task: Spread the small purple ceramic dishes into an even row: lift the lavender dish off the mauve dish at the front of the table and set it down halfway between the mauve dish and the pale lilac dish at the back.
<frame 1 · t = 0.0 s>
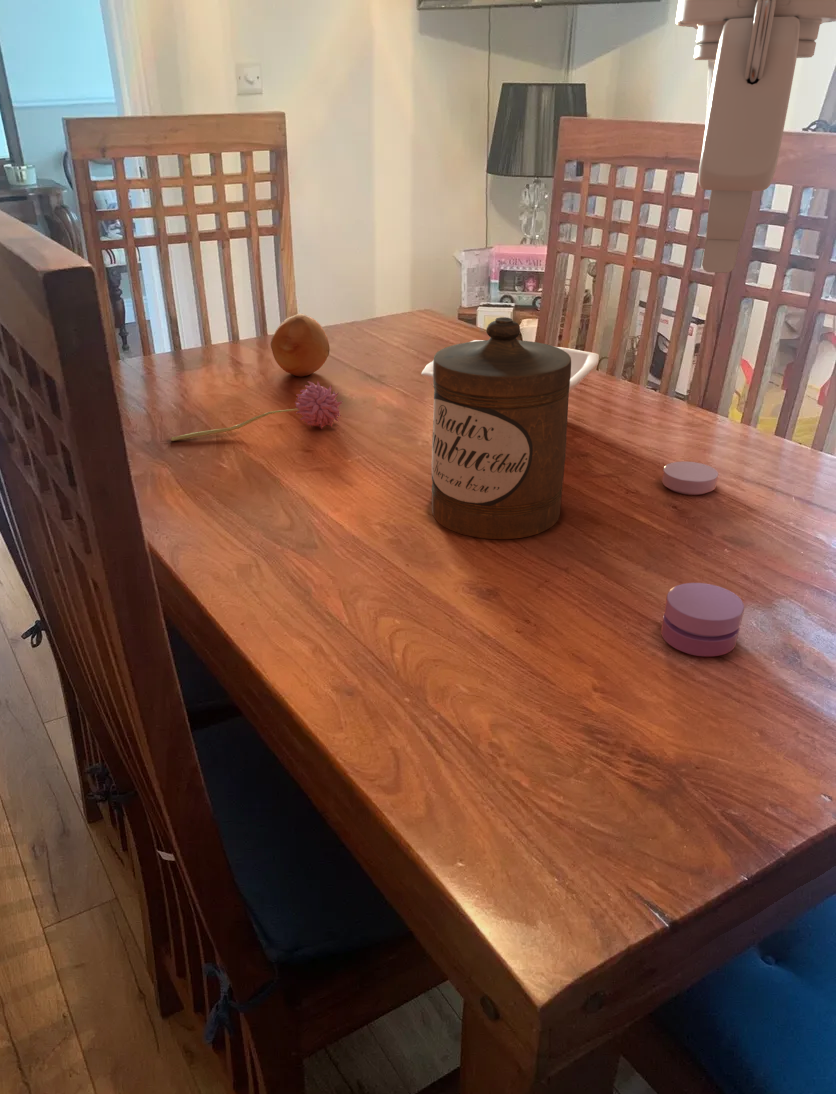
hand: (717, 256, 54), 33 cm above the table, tool pointing down, fingers open, 8 cm apart
lilac dish: (687, 486, 106), on the table
lavender dish: (701, 621, 76), point 2 cm above the table, touching mauve dish
artificial flower: (259, 435, 124), on the table
wooden container: (494, 514, 100), on the table
mauve dish: (697, 640, 77), on the table, touching lavender dish
bowl: (508, 420, 128), on the table
onion: (302, 375, 149), on the table
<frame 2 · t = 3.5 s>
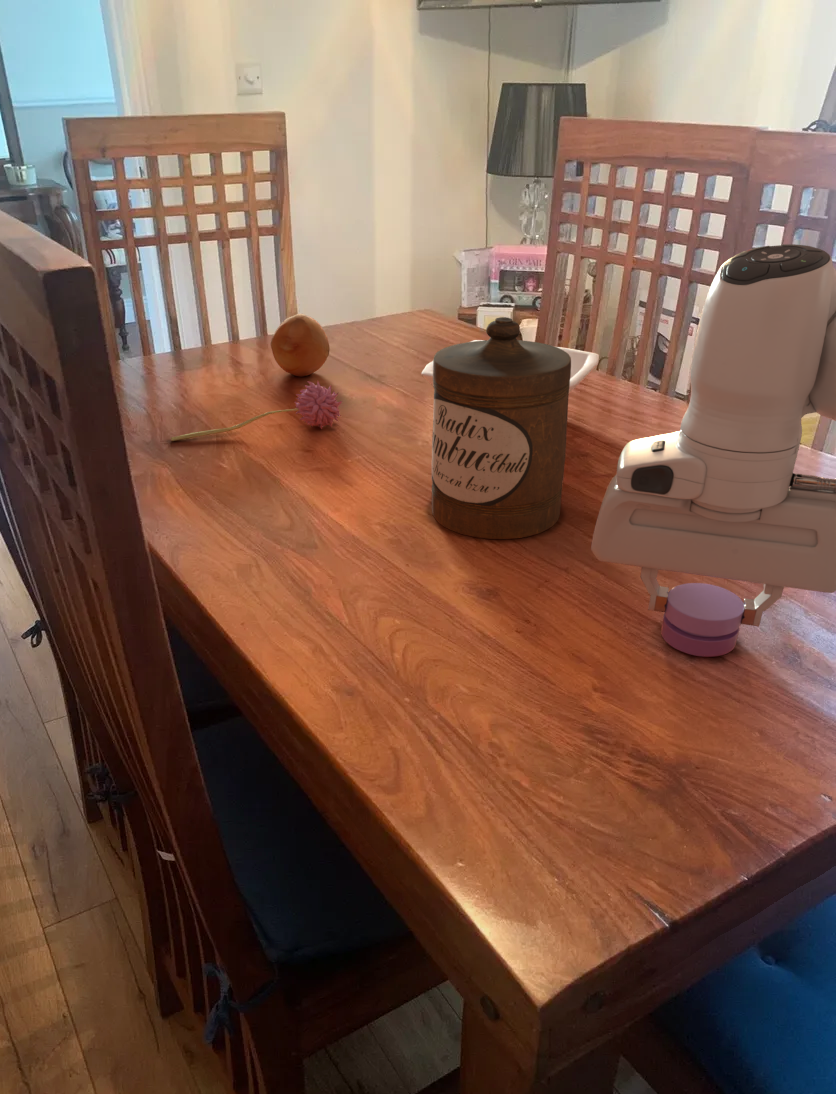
hand: (701, 615, 76), 3 cm above the table, tool pointing down, fingers closed on lavender dish, 6 cm apart
lavender dish: (701, 621, 76), point 2 cm above the table, touching gripper, mauve dish
everything else where it was.
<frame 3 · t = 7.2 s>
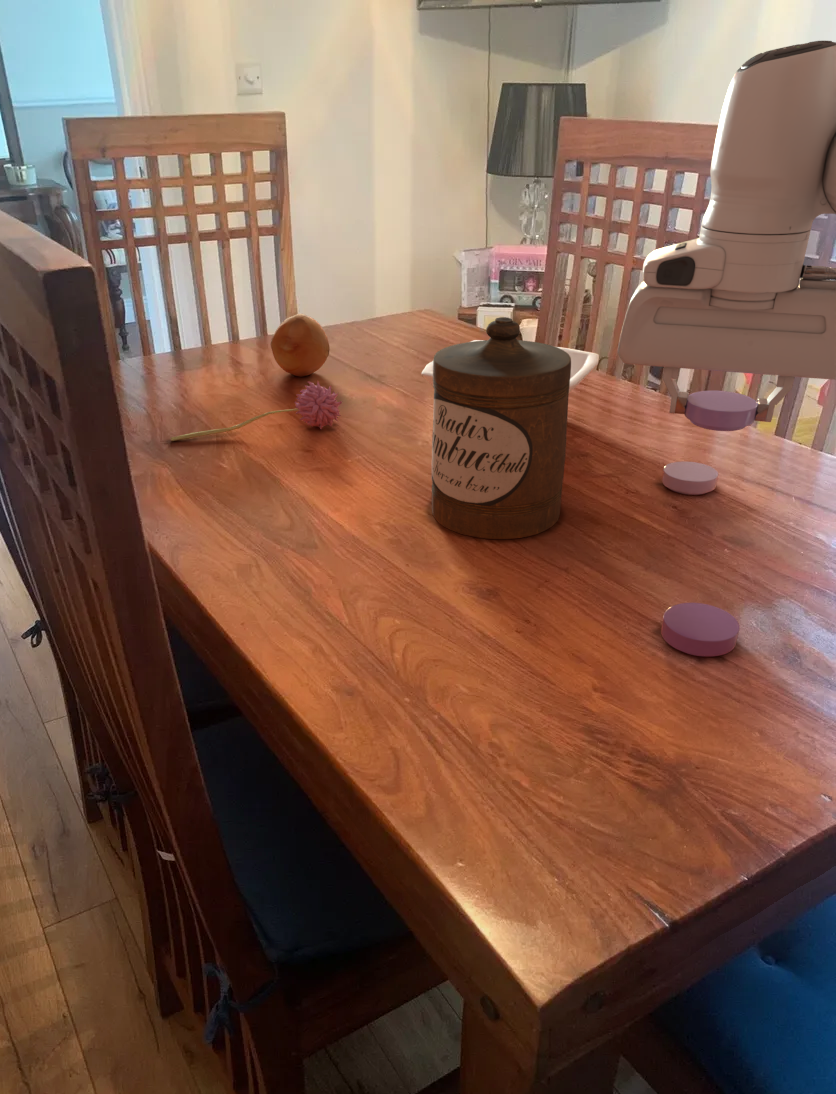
hand: (718, 416, 83), 15 cm above the table, tool pointing down, fingers closed on lavender dish, 6 cm apart
lavender dish: (718, 421, 83), point 15 cm above the table, touching gripper
mauve dish: (697, 640, 77), on the table
everything else where it was.
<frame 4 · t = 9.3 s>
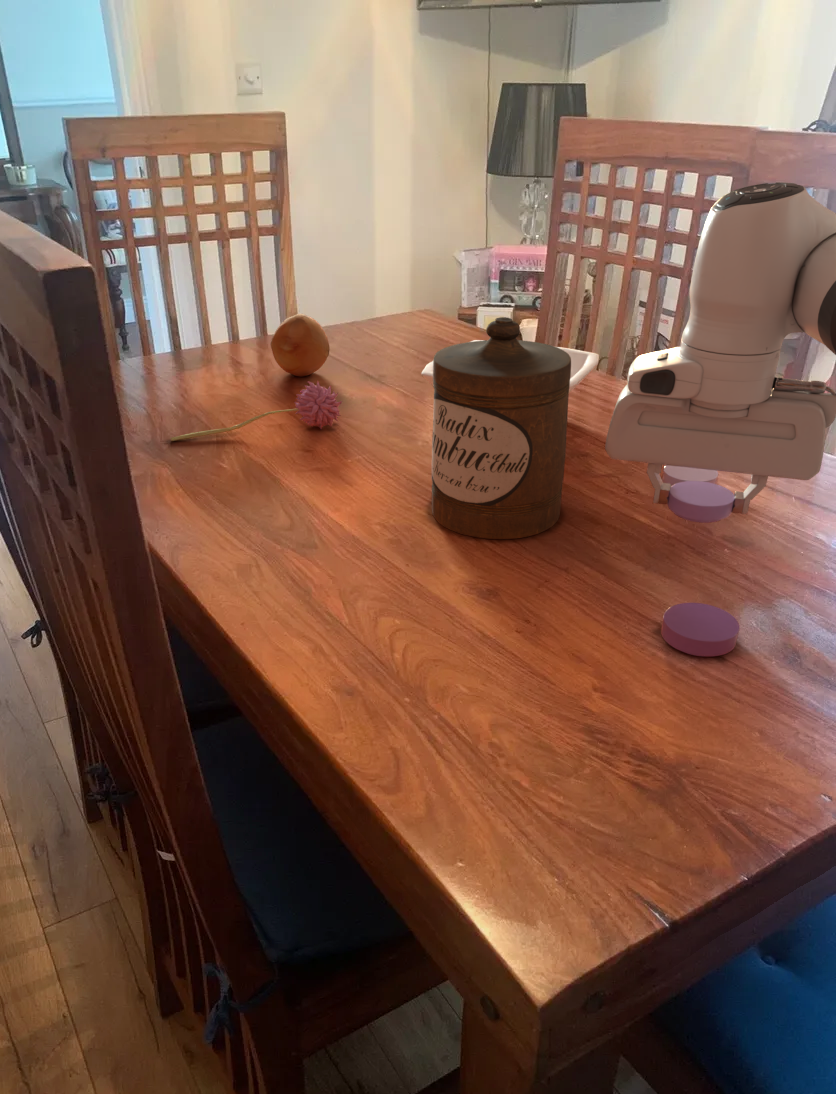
hand: (698, 506, 89), 5 cm above the table, tool pointing down, fingers closed on lavender dish, 6 cm apart
lavender dish: (698, 511, 89), point 5 cm above the table, touching gripper
everything else where it was.
when the fingers open (0 cm above the table, at t = 11.0 s): lavender dish stays where it is, on the table.
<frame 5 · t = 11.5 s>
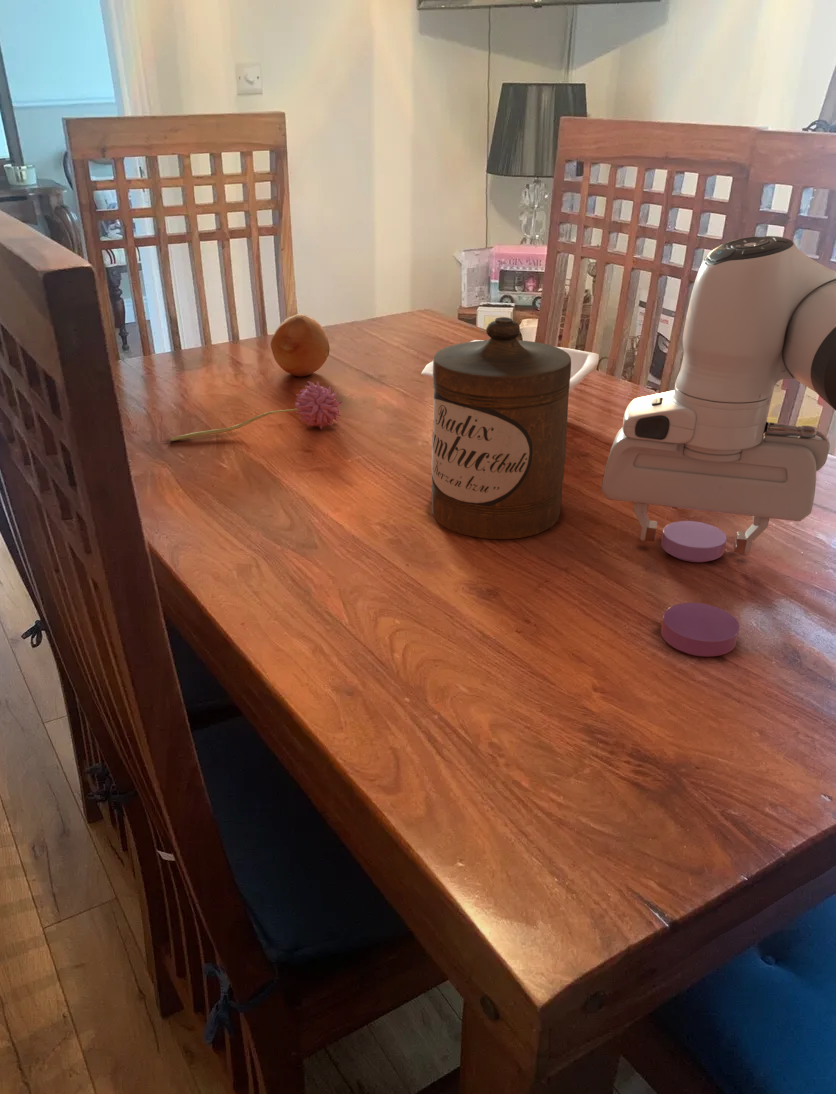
hand: (693, 544, 91), 1 cm above the table, tool pointing down, fingers open, 8 cm apart
lavender dish: (691, 551, 91), on the table
everything else where it was.
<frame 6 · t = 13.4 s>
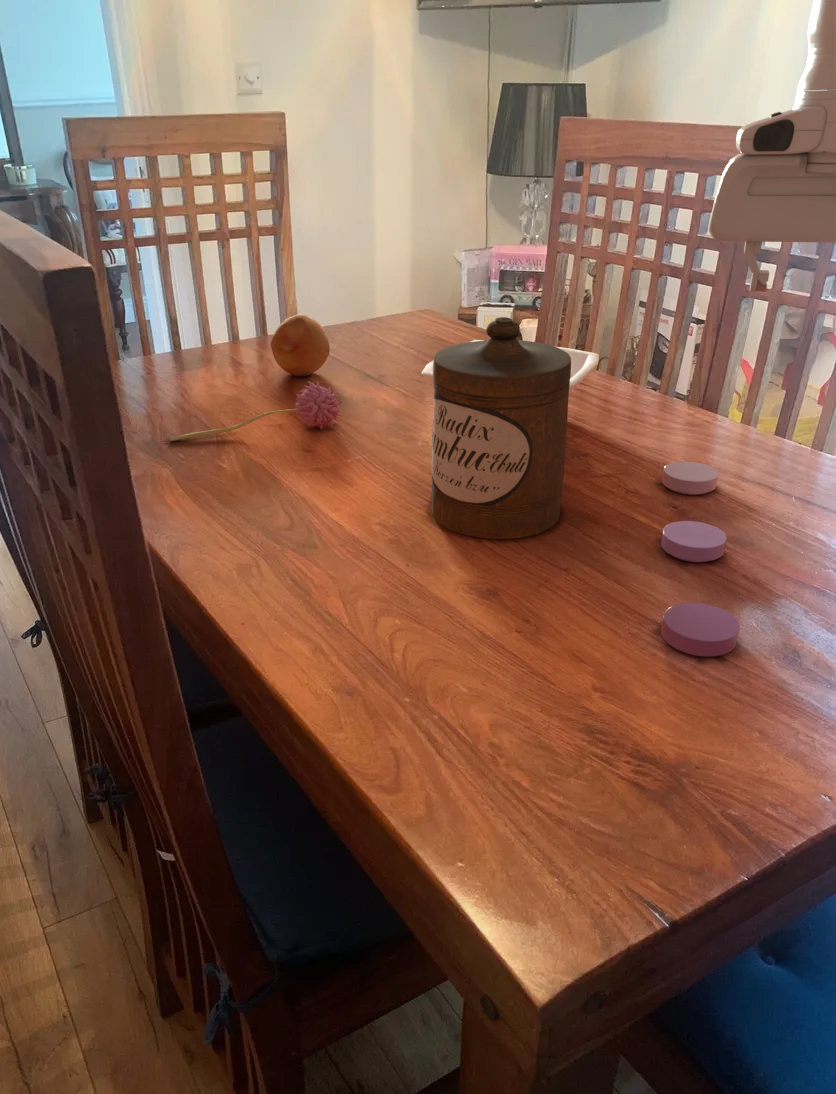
hand: (810, 292, 83), 25 cm above the table, tool pointing down, fingers open, 8 cm apart
nothing on the table moved.
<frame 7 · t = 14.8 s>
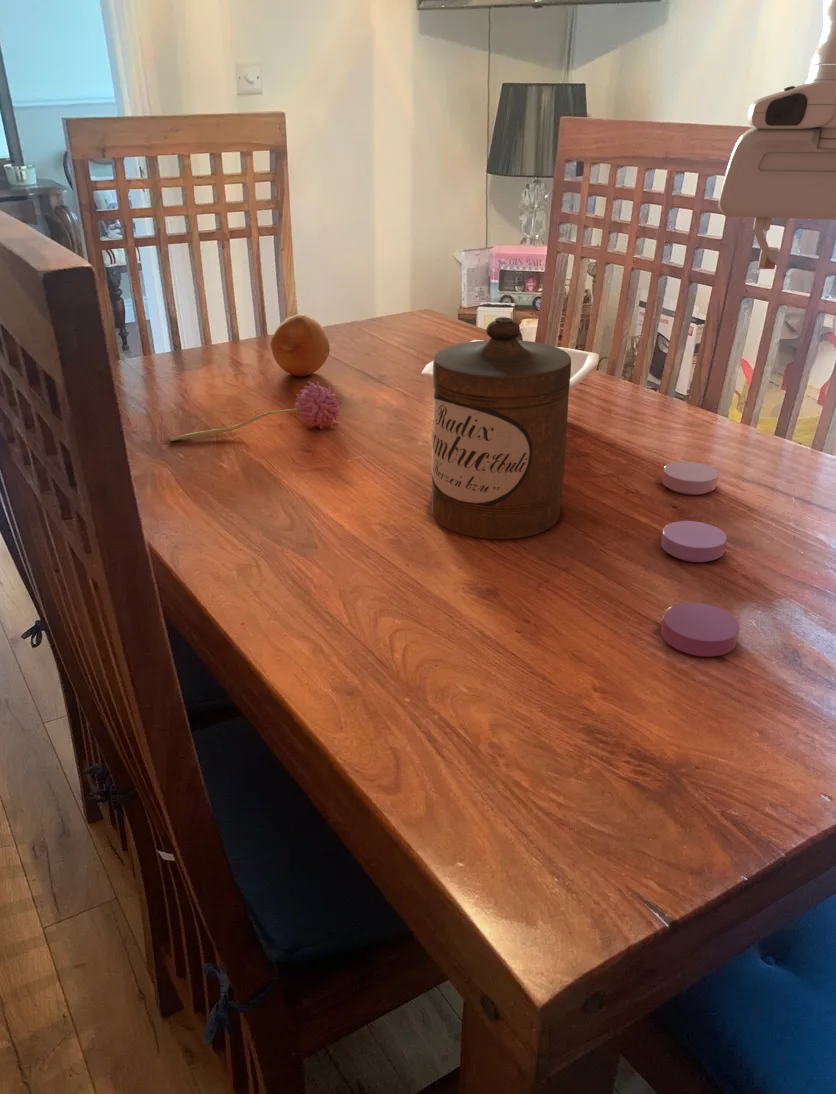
hand: (818, 270, 82), 27 cm above the table, tool pointing down, fingers open, 8 cm apart
nothing on the table moved.
at the end: lavender dish inside the target area (0.0 cm from its centre), on the table; mauve dish moved 0.0 cm from its start; lilac dish moved 0.0 cm from its start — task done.
